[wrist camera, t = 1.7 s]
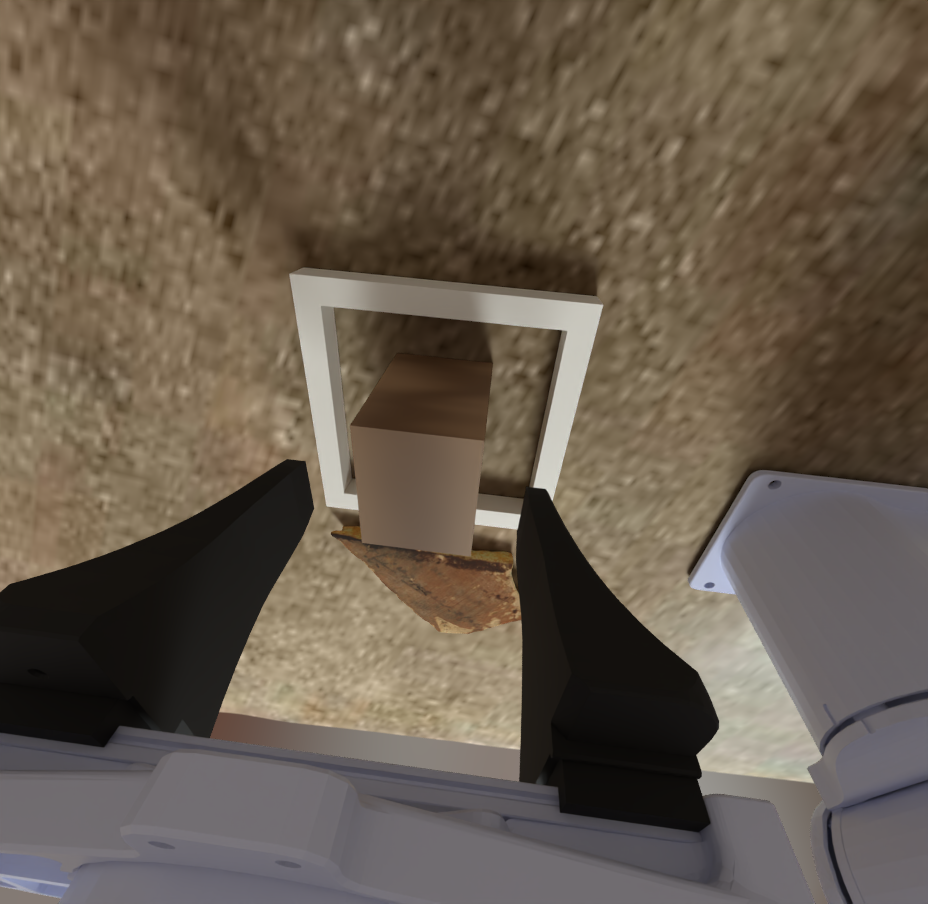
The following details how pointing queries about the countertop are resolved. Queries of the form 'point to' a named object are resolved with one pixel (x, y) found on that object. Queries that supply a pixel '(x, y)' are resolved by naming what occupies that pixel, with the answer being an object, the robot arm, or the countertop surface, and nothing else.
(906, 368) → the countertop surface
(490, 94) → the countertop surface
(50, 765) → the robot arm
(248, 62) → the countertop surface
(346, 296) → the white flat square frame
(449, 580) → the shard
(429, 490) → the walnut block
